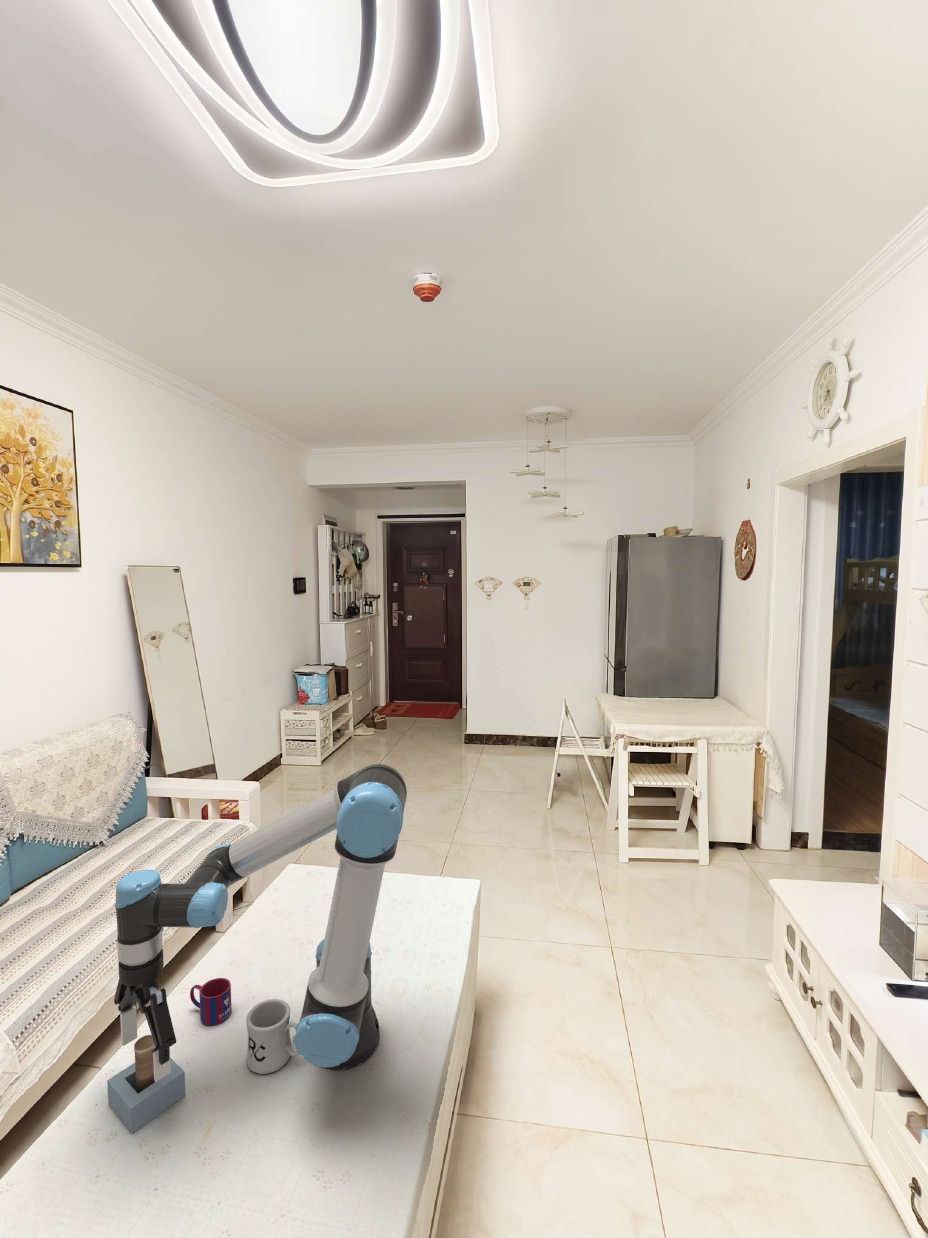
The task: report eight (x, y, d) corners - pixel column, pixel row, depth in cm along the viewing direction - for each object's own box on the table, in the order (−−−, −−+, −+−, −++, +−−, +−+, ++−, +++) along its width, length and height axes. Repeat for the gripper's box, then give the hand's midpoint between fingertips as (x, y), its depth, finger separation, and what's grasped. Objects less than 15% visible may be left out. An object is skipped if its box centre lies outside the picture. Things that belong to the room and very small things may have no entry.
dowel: (161, 1098, 114) (159, 1041, 113) (142, 1112, 111) (139, 1053, 110) (152, 1088, 116) (150, 1032, 115) (133, 1101, 113) (130, 1044, 112)
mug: (237, 1071, 120) (236, 1026, 120) (262, 1037, 129) (261, 995, 128) (291, 1084, 117) (290, 1037, 117) (313, 1048, 126) (312, 1005, 125)
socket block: (185, 1095, 115) (184, 1072, 114) (131, 1134, 107) (130, 1109, 106) (160, 1069, 121) (159, 1047, 120) (108, 1104, 113) (107, 1080, 112)
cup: (216, 1030, 131) (215, 1001, 131) (182, 1017, 135) (181, 990, 134) (237, 1009, 137) (237, 982, 137) (205, 998, 141) (204, 971, 140)
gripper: (193, 970, 107) (197, 1078, 109) (131, 921, 122) (136, 1017, 123) (151, 994, 101) (156, 1107, 103) (92, 939, 116) (97, 1039, 117)
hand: (145, 1058), depth 113 cm, fingers open, 13 cm apart
